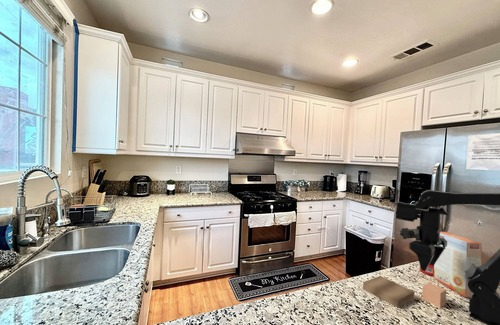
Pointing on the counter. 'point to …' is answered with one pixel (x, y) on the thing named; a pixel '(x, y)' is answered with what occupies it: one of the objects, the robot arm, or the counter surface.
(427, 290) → the cube
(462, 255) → the cracker box
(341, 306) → the counter surface
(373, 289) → the base slab
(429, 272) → the canned food
